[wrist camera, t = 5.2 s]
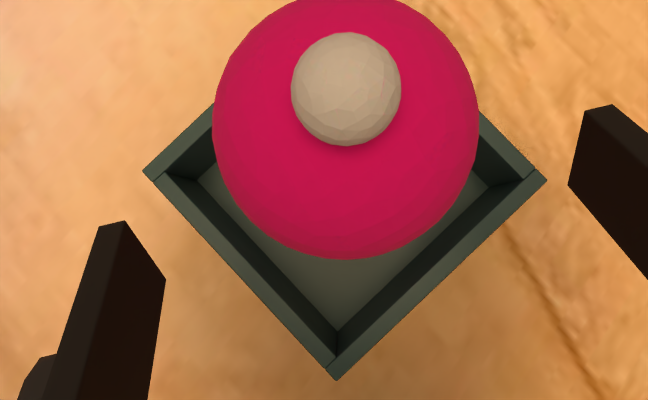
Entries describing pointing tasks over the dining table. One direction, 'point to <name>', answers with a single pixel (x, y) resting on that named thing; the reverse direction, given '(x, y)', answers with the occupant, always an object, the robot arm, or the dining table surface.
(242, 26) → the dining table surface
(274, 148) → the pepper mill
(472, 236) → the bin
